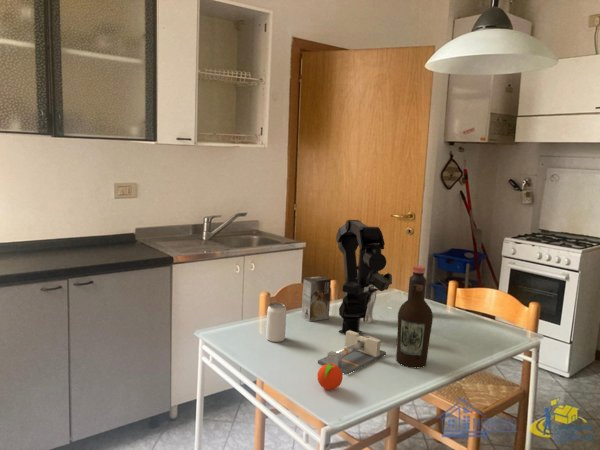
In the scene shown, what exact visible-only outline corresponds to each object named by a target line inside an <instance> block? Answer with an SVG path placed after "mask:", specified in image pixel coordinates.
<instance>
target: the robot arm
mask: <svg viewBox="0 0 600 450" xmlns="http://www.w3.org/2000/svg"><path fill="white" fill-rule="evenodd" d="M335 241H336V243H337V247H338V250H339V251H340V253H341V254H342V257H343V266H344V279H345V283H343V284H342V287H341V289H342V290H341V291H342V292H343V293H345V294H344V296H343V297H342V302H341V303H340V306H339V307H338V308H339V309H338V314H339V316H340V317H341V319H342V325H341V326H342V327H341V328H342V329H340V330H338V333H340V334H343V335H345V336H346V331H349V330H350V331H353V332H356V333H359V335H361V334H363V331H362V330H360V323H361V322H360V318H365V315H366V311H367V304H368V302H369V299H370V297H371V295H372V294H373V293H374V292H376V291H377V292H378V291H380V292H384V291H387V290H388V289H389V287H390V285H392V284H393V282H392V281H393V275H392V274H391V273H390V272H387V273H385V274H383V273H379V272H380V271H382V270H384V268H385V267H386V265H387V258H386V256H385V255H384V254H382V250H385V239H384V235H383V232H382V229H381V228H380V227H379V226H369V225H366V223H363V222H362V221H361V220H359V219H348V220H346V221H345V223H344V224H343V225H341V226H339V228H338V230H337V233H336V237H335ZM358 248H359V251H358V264H357V256H356V255H357V253H356V252H357V250H358ZM374 286H375V287H376V288H377V289H375V288H374Z"/></svg>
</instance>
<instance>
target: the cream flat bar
mask: <svg viewBox="0 0 600 450" xmlns="http://www.w3.org/2000/svg"><path fill="white" fill-rule="evenodd" d="M372 337H373V336H372ZM372 337H370V338H366V337H364V336H362V335H361V334H359V333H356V332H353V331H350V330H349V331H346V335H345V339H344V340H345V342H344V347H345V348H347V347H350V346H352V345H354V344H356V343H359V342H361V341H363V342H365V344H364V347H363V348H361V349H359V350H357V351H360V352H363V353H366V354H368V355H371V356H374V357H378V356H379V355H380V350H381V343H382V341H381V339H375V338H376V337H375V338H372Z"/></svg>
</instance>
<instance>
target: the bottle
mask: <svg viewBox="0 0 600 450" xmlns="http://www.w3.org/2000/svg"><path fill="white" fill-rule="evenodd" d="M425 273H426V267H425V266H423V265H413V266H412V275H411V276H410V277H409V283H408V292H407V293H408V295H407V300H408V299H409V298H411V296H412V289H413V285H415V284H418V285H422V286H423V299H424V301H425V298H426V290H427V289H426V288H427V279H426V277H425V275H424V274H425Z"/></svg>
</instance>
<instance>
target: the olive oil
mask: <svg viewBox="0 0 600 450" xmlns="http://www.w3.org/2000/svg"><path fill="white" fill-rule="evenodd" d="M433 320H434V314H433V310H432V309H431V307H430V306H429V304H428V303H427V302H426V301H425V300H424V299H423V286H422V285H418V284H415V285H413V289H412V296H411V298H409V299H408V298H407V300H405V302H403V303H402V304H401V305H400V307H399V309H398V312H397V334H396V335H397V336H396V338H397V339H396V355H395V361H396V363H398V364H399V363H400V364H399V365H401V364H402V365H401V366H403V365H404V366H403V367H405V366H408V367H407V368H410V367H416V368H415V369H418V368H417V367H422V368H424V367H425V365H426V366H427V364H428V353H429V346H430V340H431V333H432V326H433ZM423 366H424V367H423Z"/></svg>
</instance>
